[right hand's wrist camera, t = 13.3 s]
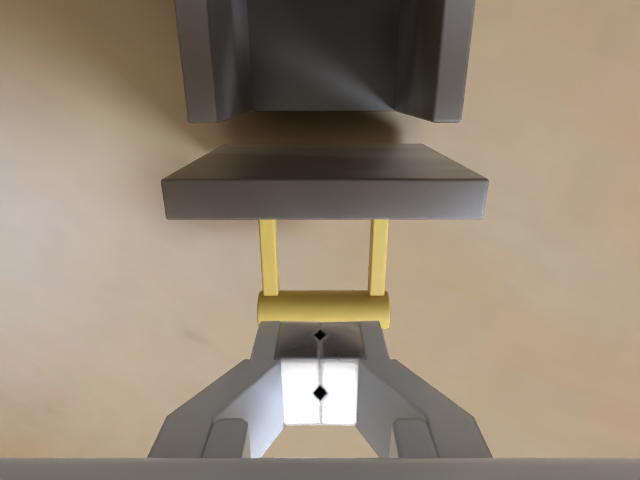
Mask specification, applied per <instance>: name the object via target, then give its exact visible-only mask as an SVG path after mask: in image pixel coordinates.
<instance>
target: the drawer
mask: <svg viewBox="0 0 640 480" xmlns="http://www.w3.org/2000/svg"><path fill="white" fill-rule="evenodd" d="M174 2H175V11H176V20H177V28H178V37H179V46H180V55H181V63H182V72H183V81H184V90H185V99H186V107H187V116H188V122H189V123H218V122H221V121H224V120H227V119H230V118H233V117H236V116H239V115H243V114H246V113H249V112H252V111H397V112H400V113H403V114H407V115H410V116H414V117H417V118H421V119H424V120H427V121H431V122H434V123H458V122H460V121H461V118H462V110H463V101H464V93H465V85H466V76H467V68H468V59H469V51H470V42H471V34H472V25H473V17H474V9H475V0H174ZM488 183H489V181H488V179H487V178H485V177H483V176H481V175H479V174H477V173H476V172H474V171H472V170H470V169H468V168H466V167H464V166H462V165H461V164H459V163H457V162H455V161H453V160H451V159H449V158H448V157H446V156H444V155H442V154H440V153H438V152H436V151H435V150H433V149H431V148H429V147H427V146H425V145H423V144H224V145H222V146H220V147H218V148H217V149H215V150H213V151H211V152H210V153H208V154H206V155H204V156H202V157H201V158H199V159H197V160H195V161H194V162H192V163H190V164H188V165H187V166H185V167H183V168H181V169H180V170H178V171H176V172H174V173H172V174H171V175H169V176H167V177H165V178H164V179H162V180H161V185H162V192H163V199H164V206H165V213H166V218H167V219H168V220H259V233H260V250H261V267H262V284H263V291H260V293H259V297H258V305H257V320H258V326H259V323H260V322H261V321H308V322H351V321H379V322H380V324H381V327H382V329H387V328H388V327H389V323H390V301H389V295H388V292H387V291H384V290H385V274H386V258H387V242H388V226H389V220H445V219H483V216H484V209H485V203H486V196H487V189H488ZM276 220H371V231H370V253H369V275H368V291H279V269H278V246H277V222H276Z"/></svg>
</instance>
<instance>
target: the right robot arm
mask: <svg viewBox="0 0 640 480" xmlns="http://www.w3.org/2000/svg"><path fill="white" fill-rule="evenodd" d="M296 425H344V426H357V427H356V428H357V429H358V430H359V432H360V433H361V434H362V435H363V437H364V438H365V439H366V441H367V442H368V443H369V445H370V446H371V447H372V448H373V450H374V451H375V452H376V454H377V455H378V456H379V458H261V457H262V455H263V454H264V453H265V451H266V450H267V449H268V447H269V446H270V445H271V444H272V442H273V441H274V440H275V438H276V437H277V436H278V435H279V433H280V432H281V431H282V429H283V428H284V426H296ZM0 480H640V458H493V457H492V455H491V453H490V451H489V448H488V446H487V444H486V442H485V440H484V438H483V436H482V434H481V431H480V429H479V427H478V425H477V423H476V421H475V419H474V417H473V416H472V415H470V414H469V413H468V412H466V411H465V410H463V409H462V408H461V407H459V406H458V405H457V404H455V403H454V402H453V401H451V400H450V399H449V398H447V397H446V396H444V395H443V394H442V393H440V392H439V391H438V390H436V389H435V388H434V387H432V386H431V385H430V384H428V383H427V382H425V381H424V380H423V379H421V378H420V377H419V376H417V375H416V374H415V373H413V372H412V371H411V370H409V369H408V368H406V367H405V366H404V365H402V364H401V363H400V362H398V361H397V360H390V358H389V354H388V350H387V346H386V343H385V339H384V335H383V331H382V327H381V324H380V322H379V321H351V322H308V321H261V322H260V323H259V327H258V331H257V335H256V339H255V342H254V346H253V350H252V354H251V358H250V360H243V361H242V362H240V363H239V364H238V365H236V366H235V367H234V368H232V369H231V370H229V371H228V372H227V373H225V374H224V375H223V376H221V377H220V378H219V379H217V380H216V381H214V382H213V383H212V384H210V385H209V386H208V387H206V388H205V389H204V390H202V391H201V392H199V393H198V394H197V395H195V396H194V397H193V398H191V399H190V400H189V401H187V402H186V403H184V404H183V405H182V406H180V407H179V408H178V409H176V410H175V411H174V412H172V413H171V414H169V415H168V416H167V417H166V419H165V421H164V423H163V425H162V428H161V430H160V432H159V434H158V436H157V438H156V440H155V442H154V444H153V446H152V449H151V451H150V453H149V455H148V457H147V458H0Z"/></svg>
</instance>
